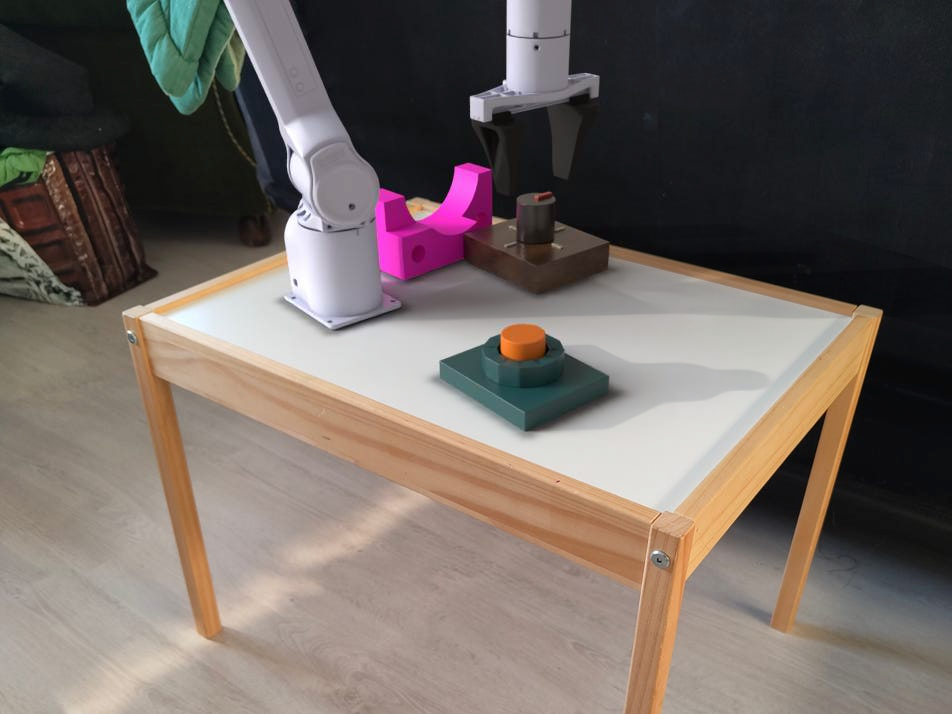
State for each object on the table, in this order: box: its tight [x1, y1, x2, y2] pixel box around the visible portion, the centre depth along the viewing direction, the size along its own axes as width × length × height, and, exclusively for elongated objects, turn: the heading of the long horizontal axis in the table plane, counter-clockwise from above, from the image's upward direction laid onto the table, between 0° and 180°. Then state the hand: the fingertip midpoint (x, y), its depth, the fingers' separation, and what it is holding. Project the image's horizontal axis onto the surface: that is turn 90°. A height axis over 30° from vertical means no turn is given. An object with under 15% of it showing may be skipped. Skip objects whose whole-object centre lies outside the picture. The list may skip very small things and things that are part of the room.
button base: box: [439, 333, 610, 432], centre depth 73 cm, size 11×9×4 cm
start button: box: [500, 323, 547, 361], centre depth 72 cm, size 4×4×2 cm
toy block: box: [375, 162, 493, 281], centre depth 96 cm, size 15×6×8 cm, turn 133°
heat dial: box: [515, 191, 557, 244], centre depth 92 cm, size 4×4×4 cm
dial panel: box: [463, 217, 611, 295], centre depth 95 cm, size 12×10×3 cm
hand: (535, 185), depth 88 cm, fingers open, 7 cm apart
